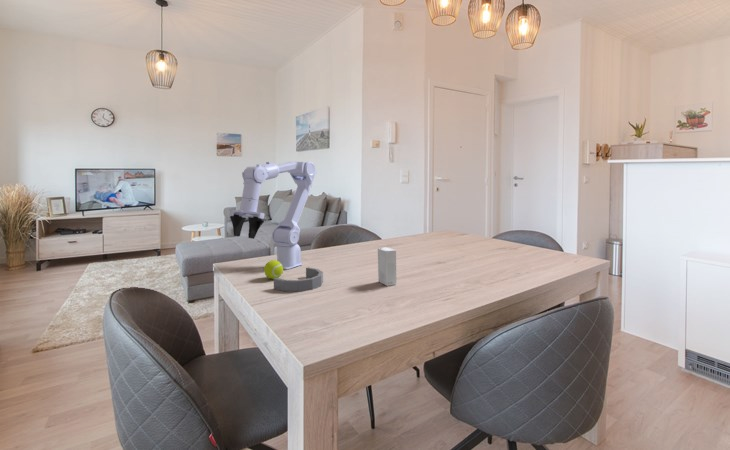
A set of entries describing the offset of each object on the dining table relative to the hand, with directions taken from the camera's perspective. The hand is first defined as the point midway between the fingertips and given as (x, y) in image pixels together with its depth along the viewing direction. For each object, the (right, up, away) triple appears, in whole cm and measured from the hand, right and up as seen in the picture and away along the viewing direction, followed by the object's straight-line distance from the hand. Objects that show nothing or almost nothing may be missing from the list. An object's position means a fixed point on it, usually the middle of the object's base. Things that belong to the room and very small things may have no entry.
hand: (243, 237), depth 132 cm
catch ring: (+22, -16, -5) cm, 28 cm away
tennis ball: (+10, -15, +3) cm, 18 cm away
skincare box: (+50, -16, -2) cm, 53 cm away
